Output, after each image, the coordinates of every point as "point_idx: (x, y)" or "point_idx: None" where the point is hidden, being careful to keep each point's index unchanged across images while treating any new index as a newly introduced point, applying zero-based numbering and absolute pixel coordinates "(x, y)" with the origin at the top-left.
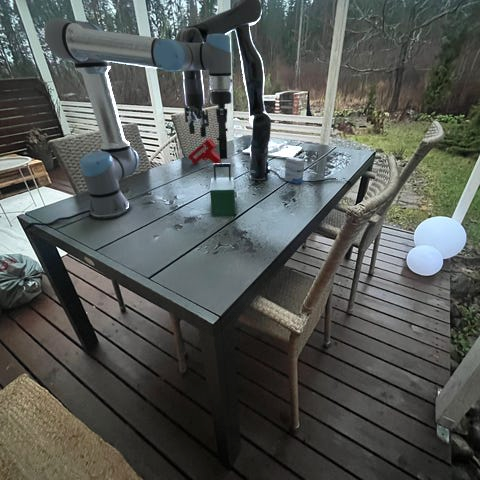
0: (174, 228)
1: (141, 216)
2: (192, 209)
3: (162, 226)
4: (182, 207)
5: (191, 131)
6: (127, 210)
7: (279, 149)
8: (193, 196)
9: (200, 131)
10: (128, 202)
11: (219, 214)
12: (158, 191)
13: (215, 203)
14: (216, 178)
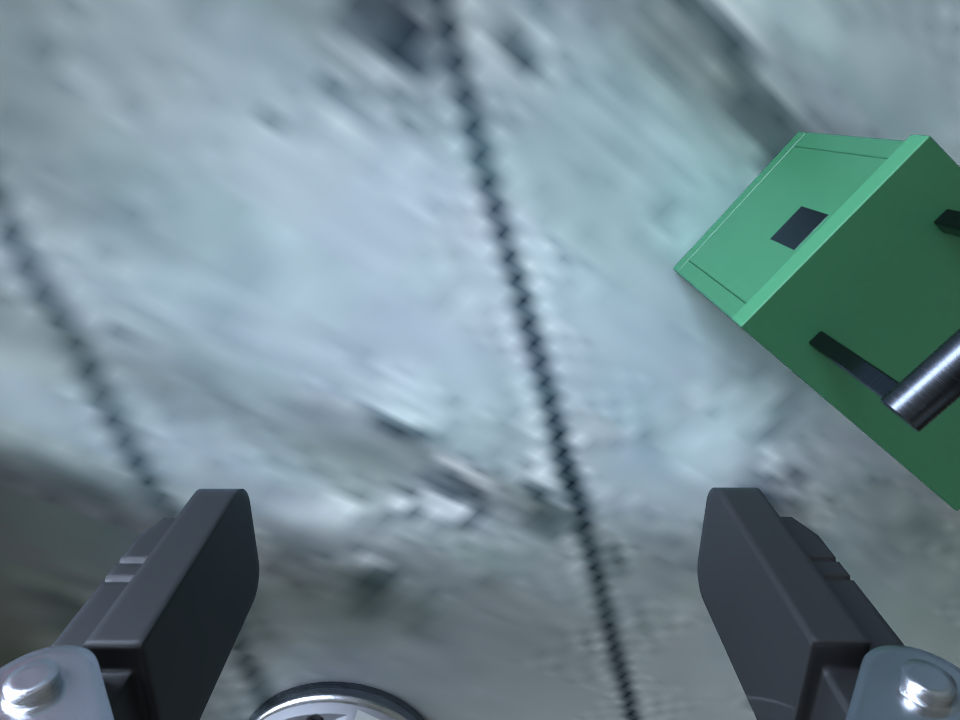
0: None
1: (515, 676)
2: (655, 443)
3: (700, 648)
4: (580, 474)
5: (237, 597)
6: (409, 710)
7: None
8: (471, 324)
9: (752, 686)
10: (360, 712)
11: None
12: (210, 468)
13: None
14: (798, 305)
